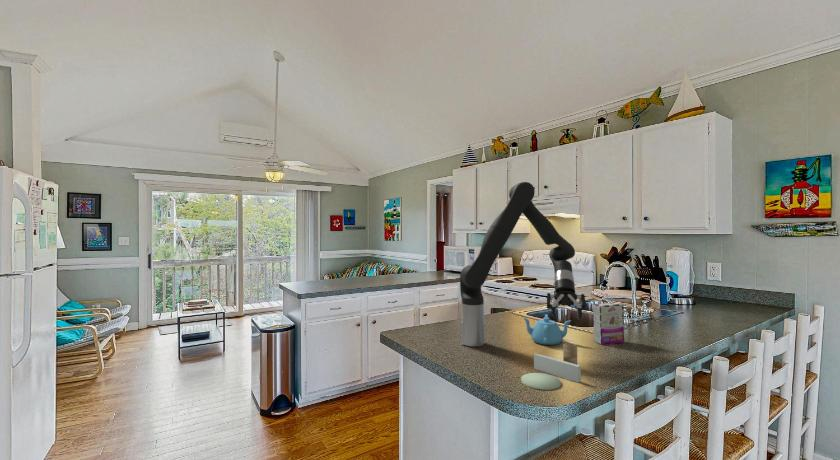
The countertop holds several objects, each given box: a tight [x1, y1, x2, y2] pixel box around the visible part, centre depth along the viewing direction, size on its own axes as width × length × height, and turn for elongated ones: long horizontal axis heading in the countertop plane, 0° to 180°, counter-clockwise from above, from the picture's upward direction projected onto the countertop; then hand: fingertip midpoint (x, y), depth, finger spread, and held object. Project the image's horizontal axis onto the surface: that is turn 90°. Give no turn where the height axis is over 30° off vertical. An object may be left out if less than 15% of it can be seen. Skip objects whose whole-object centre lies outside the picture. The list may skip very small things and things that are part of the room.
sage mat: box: [520, 372, 562, 391], centre depth 118 cm, size 12×12×1 cm
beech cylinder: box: [562, 342, 579, 365], centre depth 129 cm, size 4×4×8 cm
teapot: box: [521, 313, 572, 346], centre depth 161 cm, size 15×15×10 cm
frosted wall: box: [533, 353, 582, 383], centre depth 123 cm, size 16×2×5 cm, turn 39°
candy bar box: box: [592, 302, 625, 346], centre depth 158 cm, size 11×5×16 cm, turn 102°
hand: (567, 318), depth 140 cm, fingers open, 8 cm apart
